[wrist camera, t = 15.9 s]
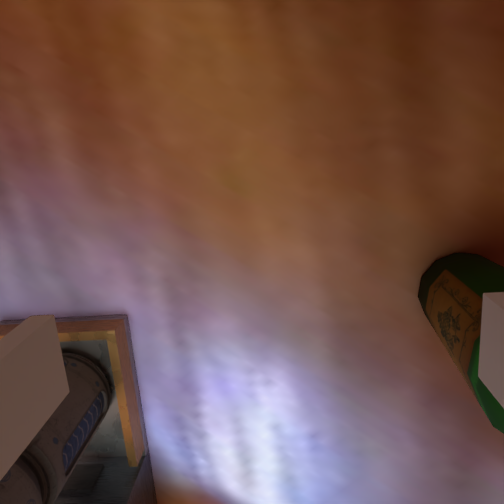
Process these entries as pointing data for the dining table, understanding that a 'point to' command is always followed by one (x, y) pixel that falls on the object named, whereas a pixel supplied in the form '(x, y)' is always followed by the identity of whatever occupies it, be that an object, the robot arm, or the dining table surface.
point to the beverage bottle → (59, 437)
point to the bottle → (463, 316)
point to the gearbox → (107, 416)
